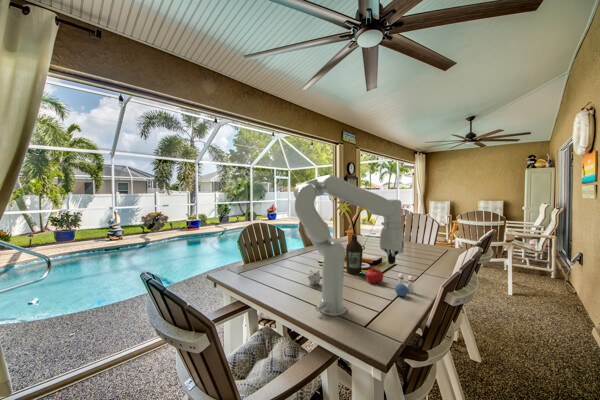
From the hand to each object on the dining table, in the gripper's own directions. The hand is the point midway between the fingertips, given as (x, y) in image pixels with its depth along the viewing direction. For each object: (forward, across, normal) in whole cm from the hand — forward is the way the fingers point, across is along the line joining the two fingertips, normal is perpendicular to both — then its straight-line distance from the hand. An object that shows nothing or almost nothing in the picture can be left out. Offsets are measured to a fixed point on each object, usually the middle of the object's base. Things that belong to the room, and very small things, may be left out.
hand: (391, 263), depth 114 cm
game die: (+19, -40, -10) cm, 46 cm away
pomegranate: (+19, -18, +18) cm, 32 cm away
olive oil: (+19, -35, +23) cm, 46 cm away
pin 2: (+19, +2, +18) cm, 27 cm away
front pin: (+18, 0, +15) cm, 24 cm away
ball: (+16, +1, +11) cm, 19 cm away
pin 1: (+19, -2, +18) cm, 27 cm away
